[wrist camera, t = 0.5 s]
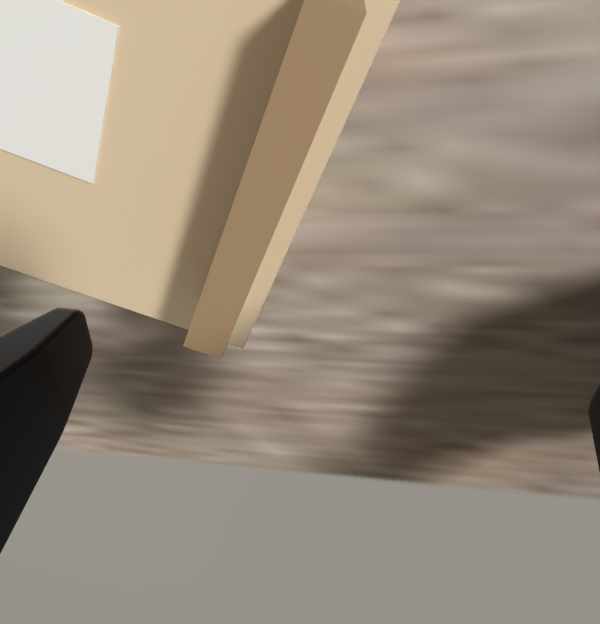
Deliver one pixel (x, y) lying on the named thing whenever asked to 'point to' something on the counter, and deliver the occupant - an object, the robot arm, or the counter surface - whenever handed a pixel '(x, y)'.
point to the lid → (172, 145)
